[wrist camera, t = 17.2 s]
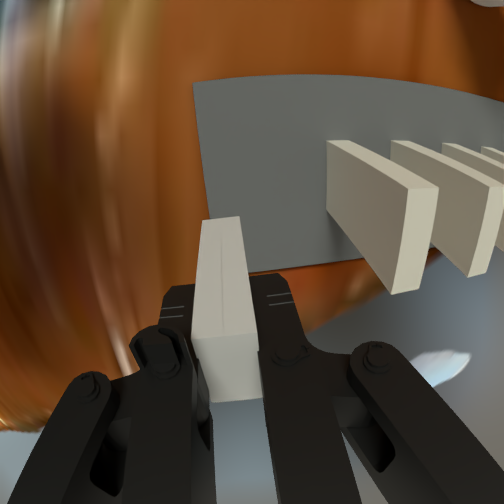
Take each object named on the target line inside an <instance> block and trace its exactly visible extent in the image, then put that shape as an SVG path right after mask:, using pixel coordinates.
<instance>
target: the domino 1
mask: <svg viewBox="0 0 504 504" xmlns="http://www.w3.org/2000/svg"><path fill="white" fill-rule="evenodd" d="M326 146H327V201H326V210H327V211H328V212H329V214H330V215H331V216H332V217H333V219H334V220H335V221H336V222H337V223H338V225H339V226H340V227H341V229H342V230H343V231H344V232H345V234H346V235H347V236H348V237H349V239H350V240H351V241H352V243H353V244H354V245H355V246H356V248H357V249H358V250H359V252H360V253H361V254H362V256H363V257H364V258H365V260H366V261H367V262H368V264H369V265H370V266H371V268H372V269H373V270H374V272H375V273H376V275H377V276H378V277H379V279H380V280H381V281H382V283H383V284H384V286H385V287H386V288H387V290H388V291H389V292H390V294H391V295H392V294H396V293H401V292H406V291H410V290H416V289H419V286H420V282H421V278H422V274H423V271H424V266H425V262H426V258H427V253H428V249H429V244H430V239H431V234H432V229H433V223H434V218H435V212H436V206H437V199H438V192H439V187H437V186H435V185H434V184H432V183H430V182H428V181H427V180H425V179H423V178H422V177H420V176H418V175H416V174H414V173H413V172H411V171H409V170H407V169H405V168H404V167H402V166H400V165H398V164H396V163H394V162H392V161H390V160H388V159H386V158H384V157H382V156H380V155H378V154H376V153H374V152H372V151H370V150H368V149H366V148H364V147H362V146H360V145H358V144H356V143H354V142H351V141H349V140H333V141H326Z"/></svg>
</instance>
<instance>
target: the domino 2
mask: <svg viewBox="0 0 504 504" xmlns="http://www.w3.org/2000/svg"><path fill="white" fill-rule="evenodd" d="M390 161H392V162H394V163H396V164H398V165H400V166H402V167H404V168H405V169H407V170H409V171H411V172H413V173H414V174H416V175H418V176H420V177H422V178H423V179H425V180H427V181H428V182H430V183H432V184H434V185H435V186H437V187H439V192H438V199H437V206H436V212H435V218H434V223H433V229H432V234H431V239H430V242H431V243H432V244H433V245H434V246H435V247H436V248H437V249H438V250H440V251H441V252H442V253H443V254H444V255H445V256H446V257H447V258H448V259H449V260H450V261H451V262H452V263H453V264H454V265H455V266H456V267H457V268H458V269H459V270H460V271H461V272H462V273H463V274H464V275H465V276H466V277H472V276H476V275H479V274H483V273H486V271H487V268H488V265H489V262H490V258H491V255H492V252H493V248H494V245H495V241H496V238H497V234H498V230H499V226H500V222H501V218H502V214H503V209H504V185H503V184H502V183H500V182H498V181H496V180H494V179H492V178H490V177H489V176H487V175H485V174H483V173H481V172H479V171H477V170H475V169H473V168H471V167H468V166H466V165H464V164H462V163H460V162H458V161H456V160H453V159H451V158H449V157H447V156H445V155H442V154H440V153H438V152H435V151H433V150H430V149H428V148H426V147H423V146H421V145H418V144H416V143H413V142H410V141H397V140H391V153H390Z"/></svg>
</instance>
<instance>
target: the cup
mask: <svg viewBox="0 0 504 504" xmlns="http://www.w3.org/2000/svg"><path fill="white" fill-rule="evenodd" d="M470 1H472V2H473V3H476V4H478V5H481V6H486V7H499V6H504V0H470Z"/></svg>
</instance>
